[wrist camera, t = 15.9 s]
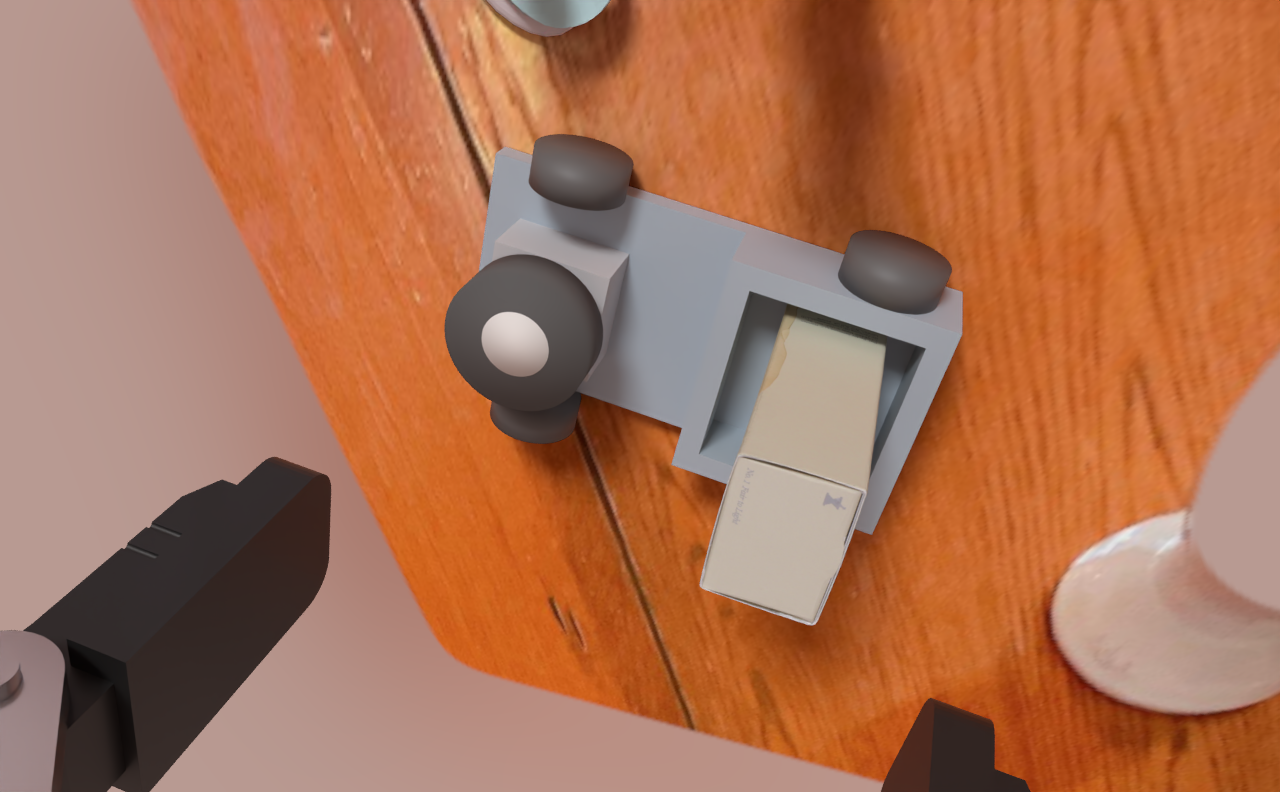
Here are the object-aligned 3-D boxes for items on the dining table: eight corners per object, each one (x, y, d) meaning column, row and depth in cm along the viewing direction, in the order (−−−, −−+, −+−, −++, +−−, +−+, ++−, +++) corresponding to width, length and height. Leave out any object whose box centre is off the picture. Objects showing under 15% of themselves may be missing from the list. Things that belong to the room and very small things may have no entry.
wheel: (617, 281, 40) (600, 302, 38) (588, 405, 43) (572, 431, 41) (475, 234, 40) (453, 253, 39) (457, 360, 44) (436, 383, 42)
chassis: (977, 259, 40) (978, 299, 37) (867, 507, 47) (860, 560, 44) (510, 112, 43) (471, 138, 39) (471, 370, 49) (435, 410, 46)
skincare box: (790, 291, 42) (734, 443, 32) (896, 322, 41) (872, 487, 31) (753, 415, 45) (691, 589, 35) (850, 446, 45) (815, 632, 34)
